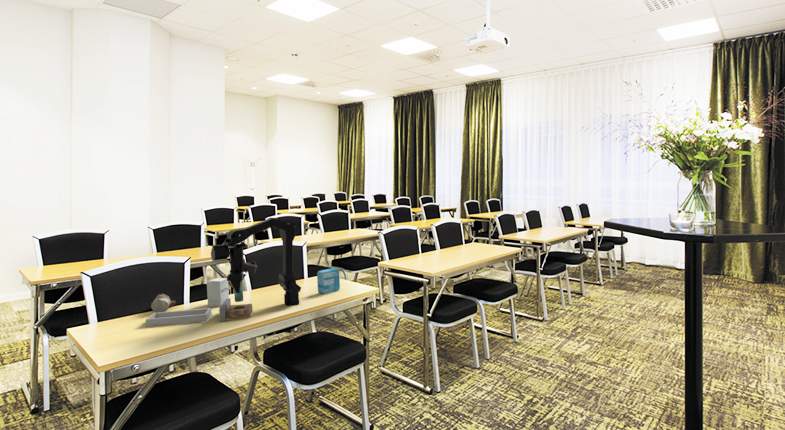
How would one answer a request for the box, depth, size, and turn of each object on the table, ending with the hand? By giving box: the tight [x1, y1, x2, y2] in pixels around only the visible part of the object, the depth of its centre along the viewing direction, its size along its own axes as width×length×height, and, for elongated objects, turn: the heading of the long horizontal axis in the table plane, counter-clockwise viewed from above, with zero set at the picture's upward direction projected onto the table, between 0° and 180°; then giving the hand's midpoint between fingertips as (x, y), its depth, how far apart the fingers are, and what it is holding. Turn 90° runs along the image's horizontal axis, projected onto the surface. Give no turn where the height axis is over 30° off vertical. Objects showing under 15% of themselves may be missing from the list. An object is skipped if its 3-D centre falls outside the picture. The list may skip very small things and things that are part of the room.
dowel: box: [233, 280, 244, 303], centre depth 189 cm, size 4×4×10 cm
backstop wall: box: [218, 298, 232, 323], centre depth 188 cm, size 2×16×6 cm, turn 12°
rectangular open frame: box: [145, 307, 213, 327], centre depth 184 cm, size 24×10×3 cm, turn 102°
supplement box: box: [206, 277, 230, 308], centre depth 208 cm, size 7×7×13 cm
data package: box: [316, 267, 341, 295], centre depth 227 cm, size 12×4×12 cm, turn 139°
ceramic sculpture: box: [150, 292, 176, 313], centre depth 202 cm, size 11×9×15 cm
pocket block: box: [226, 303, 253, 321], centre depth 189 cm, size 10×10×4 cm
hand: (238, 292), depth 189 cm, fingers closed on dowel, 4 cm apart
